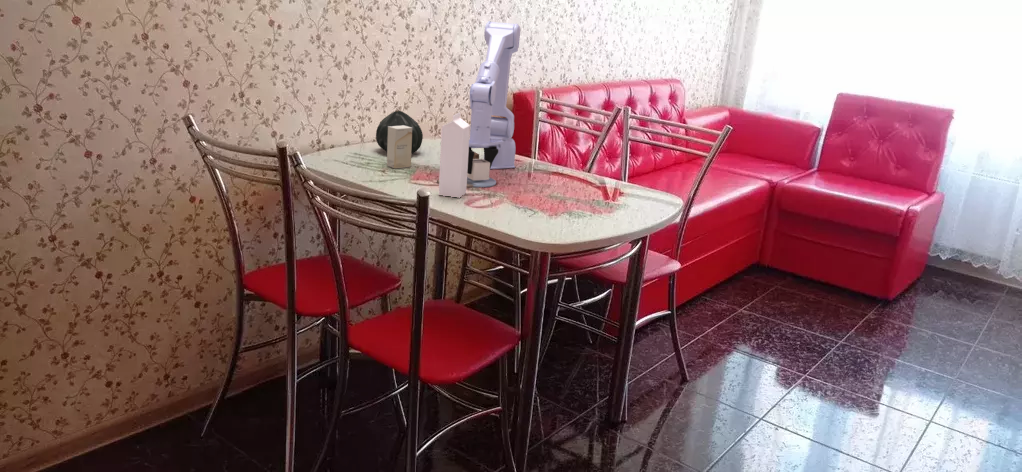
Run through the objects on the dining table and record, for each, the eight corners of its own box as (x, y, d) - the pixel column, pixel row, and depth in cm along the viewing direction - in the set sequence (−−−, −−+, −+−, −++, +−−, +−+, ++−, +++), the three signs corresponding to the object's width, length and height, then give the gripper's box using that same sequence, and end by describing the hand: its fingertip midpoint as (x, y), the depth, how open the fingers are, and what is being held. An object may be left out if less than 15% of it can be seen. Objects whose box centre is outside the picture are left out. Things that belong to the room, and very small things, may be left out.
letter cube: (481, 175, 218) (482, 158, 216) (488, 179, 214) (490, 162, 212) (465, 176, 216) (466, 158, 214) (473, 180, 212) (474, 163, 210)
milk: (438, 195, 199) (441, 113, 192) (445, 190, 205) (448, 110, 198) (460, 198, 198) (463, 116, 191) (466, 193, 204) (470, 113, 196)
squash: (411, 129, 253) (388, 98, 242) (437, 140, 243) (414, 108, 232) (383, 159, 249) (358, 129, 239) (409, 171, 239) (384, 140, 229)
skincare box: (394, 169, 223) (395, 129, 219) (386, 165, 225) (387, 126, 222) (411, 166, 227) (413, 127, 223) (403, 163, 230) (404, 124, 226)
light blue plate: (486, 176, 222) (486, 174, 222) (502, 186, 213) (502, 184, 213) (452, 178, 217) (452, 176, 217) (467, 188, 208) (467, 186, 208)
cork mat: (460, 179, 216) (460, 177, 216) (475, 186, 211) (475, 184, 210) (436, 182, 212) (436, 180, 212) (452, 189, 206) (452, 187, 206)
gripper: (462, 129, 203) (460, 177, 208) (509, 128, 210) (506, 174, 214) (452, 124, 209) (450, 171, 213) (498, 123, 216) (495, 168, 220)
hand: (477, 172), depth 214 cm, fingers closed on letter cube, 5 cm apart
